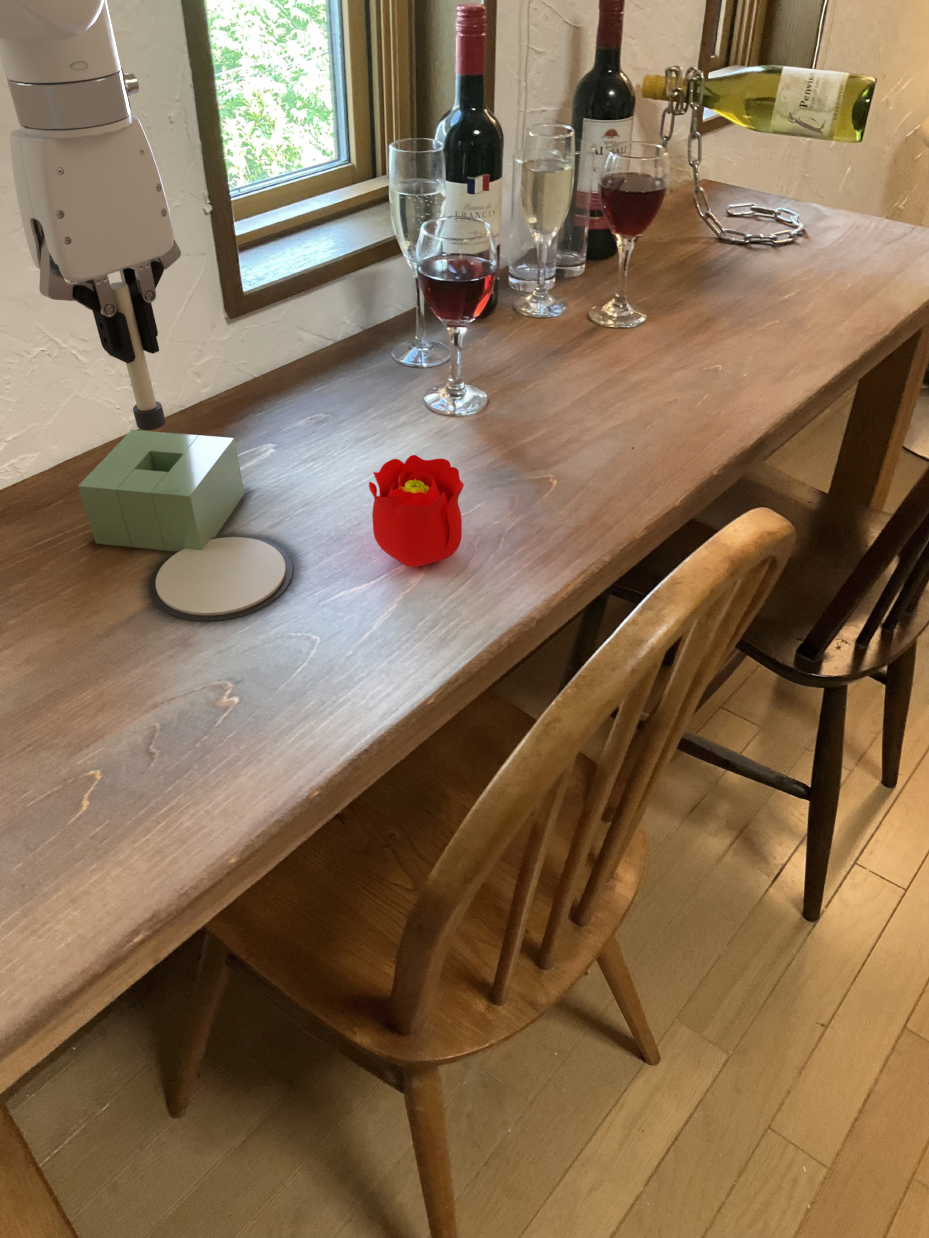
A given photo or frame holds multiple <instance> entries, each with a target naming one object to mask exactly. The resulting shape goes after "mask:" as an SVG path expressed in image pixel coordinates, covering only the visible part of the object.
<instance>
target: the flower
mask: <svg viewBox="0 0 929 1238" xmlns="http://www.w3.org/2000/svg"><path fill="white" fill-rule="evenodd" d="M372 472H373V476H374V478H375V481H376V484H377V485H376V484H375V483H374V482H372V481H369V482H368V488H369V492H370V493H371V495H372V496H373V504H372V515H371V516H372V517H371V519H372V530H373V537H374V539H375V541H376V544H377V545H378V546H379V547H380V549H382V551H384V552H385V553H386V554H387V555H388V556H390V557H391V558H393V559H395V560H396V561H398V562H399V563H401V564H402V565H403V566H405V567H406V566H407V567H411V568H416V567H422V566H426V565H429V564H433V563H438V562H440V561H443V560H446V559H448V558H450V557H451V556H452V555H454V554H455V552H457V550H458V549H459V547H460V545H461V542H462V536H463V534H462V533H463V521H462V512H461V509H460V506H459V497H460V495H461V494H462V491H463V489H464V487H465V484H464V482H463V481H462V480H461V479H460V471H459V469H458V468H457V467H455V466H452V464H451V462H450V461H449V460H448V459H446V458H434V459H423V458H421V457H419V456H418V455H417V454H411V455H410V456H408V457H407V458H406V460H405V461H404V462H403V461H402V460H401V459H399V458H392V459H390V460H388V461H386V462H384V464H382V466H381V467H380V470H379V471H378V472H377V471H376V472H375V471H372ZM377 487H378V488H377ZM378 491H379V495H377V494H378Z"/></svg>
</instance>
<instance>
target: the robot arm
mask: <svg viewBox="0 0 929 1238" xmlns="http://www.w3.org/2000/svg"><path fill="white" fill-rule="evenodd" d="M0 60H1V64H2V68H3V71H4V74H5V78H6V80H7V86H8V89H9V92H10V95H11V99H12V102H13V103H12V104H13V106H14V110H15V114H16V117H17V120H18V123H19V129H16V130H12V131H10V133H9V142H10V154H11V155H10V156H11V164H12V173H13V180H14V187H15V192H16V198H17V204H18V207H19V208H18V209H19V213H20V217H21V222H22V225H23V226H22V227H23V230H24V235H25V238H26V242H27V247H28V250H29V253H30V256H31V259H32V261H33V263H34V265H35V267H36V268H37V269H39V288H38V289H39V292H40V295H42V296H44V297H46V298H49V299H51V300H55V301H67V302H77V303H78V304H80V305H81V306H84V307H85V308H87V309H89V310H90V311H92V314H93V318H94V321H95V325H96V329H97V333H98V337H99V340H100V345H101V346H102V349H103V350H104V351H105V352H106V353H107V354H108V355H109V356H110V357H113V358H115V359H117V360H119V361H121V362H124V363H125V364H126V363H131V362H133V361H134V359H135V358H136V357H135V353H134V349H133V345H132V341H131V336H130V332H129V328H128V324H127V320H126V317H125V315H124V314H123V313H120V312H118V311H117V307H116V304H115V300H114V297H113V293H112V289H111V286H110V284H111V283H110V279H109V275H111V274H114V273H116V272H119V275H120V280H121V282H124V283H127V284H128V288H129V292H130V296H131V300H132V304H133V309H134V313H135V317H136V321H137V325H138V329H139V334H140V338H141V342H142V346H143V350H144V352H147V353H149V354H153V355H154V354H156V353H158V352H160V347H159V342H158V338H157V337H158V336H159V331H158V326H157V323H156V318H155V313H154V308H153V305H152V303H154V302H155V301H156V299H157V291H156V289H157V287H158V285H159V283H160V281H161V279H162V277H163V274H164V271H165V270H167V269H169V268H170V267H171V266H172V265H173V264H175V262H177V261H178V260H179V259H180V257H181V255H182V252H181V248H180V247H179V245H178V244H177V242H176V239H175V238H174V228H173V222H172V217H171V212H170V208H169V203H168V200H167V196H166V193H165V189H164V185H163V181H162V177H161V174H160V171H159V168H158V165H157V162H156V159H155V156H154V152H153V150H152V148H151V145H150V143H149V140H148V136H147V135H146V133H145V130H144V128H143V126H142V124H141V120H140V119H139V117H138V116H136V115H133V114H131V109H132V107H131V102H130V99H129V98H130V97H131V95H136V94H138V93H139V90H140V86H139V81H138V79H137V76H135V74H134V73H132V72H129V73H124V69H123V68H122V67H121V63H120V57H119V54H118V47H117V43H116V40H115V35H114V30H113V25H112V21H111V15H110V10H109V6H108V2H107V0H0Z"/></svg>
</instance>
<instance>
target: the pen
mask: <svg viewBox="0 0 929 1238" xmlns="http://www.w3.org/2000/svg"><path fill="white" fill-rule="evenodd" d="M110 286H111V289H112V293H113V297H114V300H115V304H116V307H117V311H118V312H120V313H123V314H124V315H125V317H126V320H127V324H128V328H129V332H130V336H131V341H132V345H133V349H134V353H135V357H136V358H135V359H134V361H133V362H131V363H126V362H125V365H126V369H127V373H128V377H129V381H130V384H131V388H132V393H133V396H134V397H133V398H134V400H135V405H134V406H133V407H132V411H133V415H134V420H135V424H136V427H137V428H138V430H141V431H153V430H157V429H160V428H161V427H163V426H164V425H166V418H165V414H164V409H163V404H162V403H161V402H159V401H157V400H156V397H155V393H154V388H153V383H152V380H151V375H150V371H149V368H148V363H147V359H146V355H145V351H144V350H143V346H142V342H141V338H140V334H139V329H138V325H137V321H136V317H135V313H134V309H133V304H132V300H131V296H130V292H129V288H128V284H127V283H124V282H122V281H117V282H112V283H110Z"/></svg>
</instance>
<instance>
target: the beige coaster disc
mask: <svg viewBox="0 0 929 1238" xmlns="http://www.w3.org/2000/svg"><path fill="white" fill-rule="evenodd" d="M293 576H294V564H293V562H292V558H291V557H290V556H289V554H288V553H287V552H286V550H284V549H283V548H282V547H280V546H279V545H277V544H275V543H273V542H271V541H268V540H266V539H263V538H259V537H254V536H248V535H247V536H246V535H229V536H228V535H227V536H218V537H217V536H216V537H215V538H213V539H211V540H209V541H208V543H207V544H206V545H205V547H204V548H203V550H195V549H183V550H181V551H176V552H175V551H174V552H173V553H171V554H170V555H168V556H167V557H166V558H165V559H163V561H161V562H160V563H159V564H158V566H157V567H156V568H155V569H154V571H153V573H152V574H151V577H150V579H149V581H148V582H149V584H148V592H149V596H150V599H151V600H152V602H153V604H155V606H156V607H157V608H158V609H160V610H161V611H162V612H163V613H165V614H167V615H169V616H172V617H175V618H177V619H181V620H184V621H188V622H189V621H191V622H200V623H211V622H223V621H229V620H234V619H238V618H242V617H245V616H248V615H252V614H253V613H256V612H258V611H260V610H262V609H264V608H266V607H268V606H269V605H271V604H272V603H274V602H275V601H276V600H277V599H278V598H280V597H281V596H282V595H283V594H284V592H285V591H286V590H287V589H288V587H289V586H290V584H291V582H292V579H293Z"/></svg>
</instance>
